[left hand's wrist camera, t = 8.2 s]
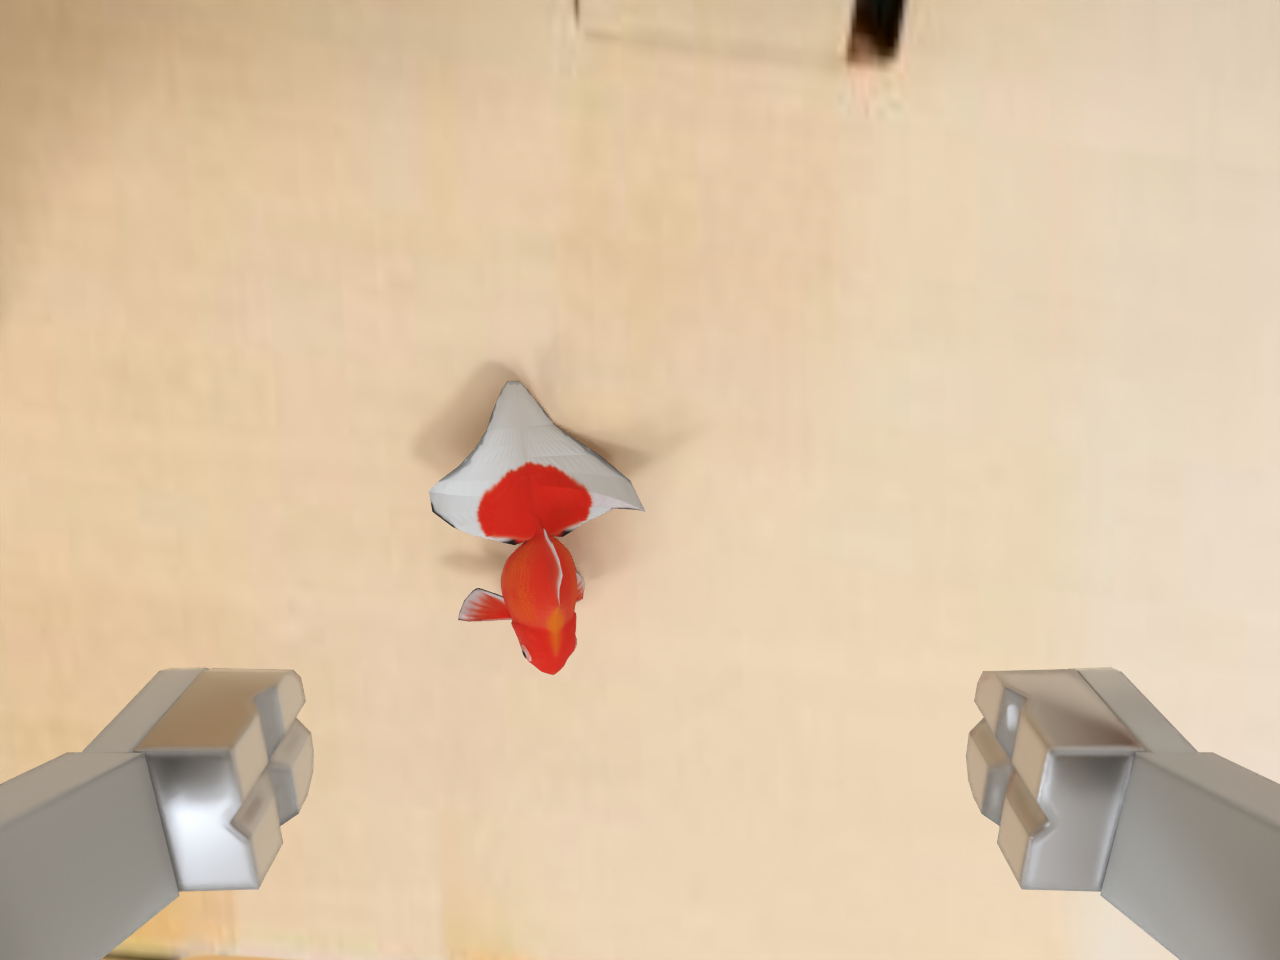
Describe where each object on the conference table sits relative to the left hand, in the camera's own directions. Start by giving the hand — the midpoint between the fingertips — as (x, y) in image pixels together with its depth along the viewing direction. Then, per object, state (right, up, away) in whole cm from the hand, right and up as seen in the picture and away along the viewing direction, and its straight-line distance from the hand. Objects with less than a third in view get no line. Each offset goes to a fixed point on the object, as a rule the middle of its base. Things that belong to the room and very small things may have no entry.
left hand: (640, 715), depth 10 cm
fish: (-6, +2, +40) cm, 40 cm away
